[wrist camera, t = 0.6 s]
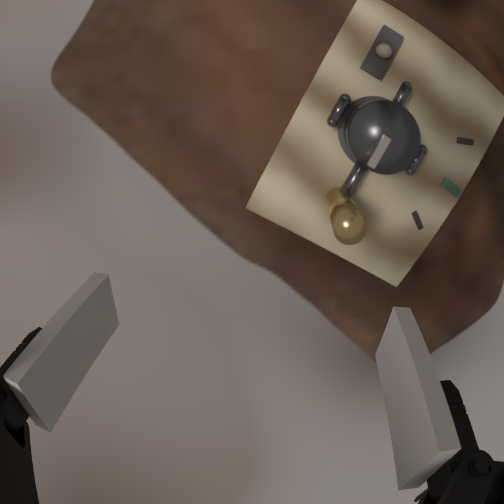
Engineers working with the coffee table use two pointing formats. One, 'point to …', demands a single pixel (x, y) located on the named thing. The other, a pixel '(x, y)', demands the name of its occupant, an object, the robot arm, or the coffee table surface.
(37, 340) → the robot arm
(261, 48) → the coffee table surface
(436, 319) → the coffee table surface
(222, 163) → the coffee table surface
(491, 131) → the lever board
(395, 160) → the grey round handled piece
